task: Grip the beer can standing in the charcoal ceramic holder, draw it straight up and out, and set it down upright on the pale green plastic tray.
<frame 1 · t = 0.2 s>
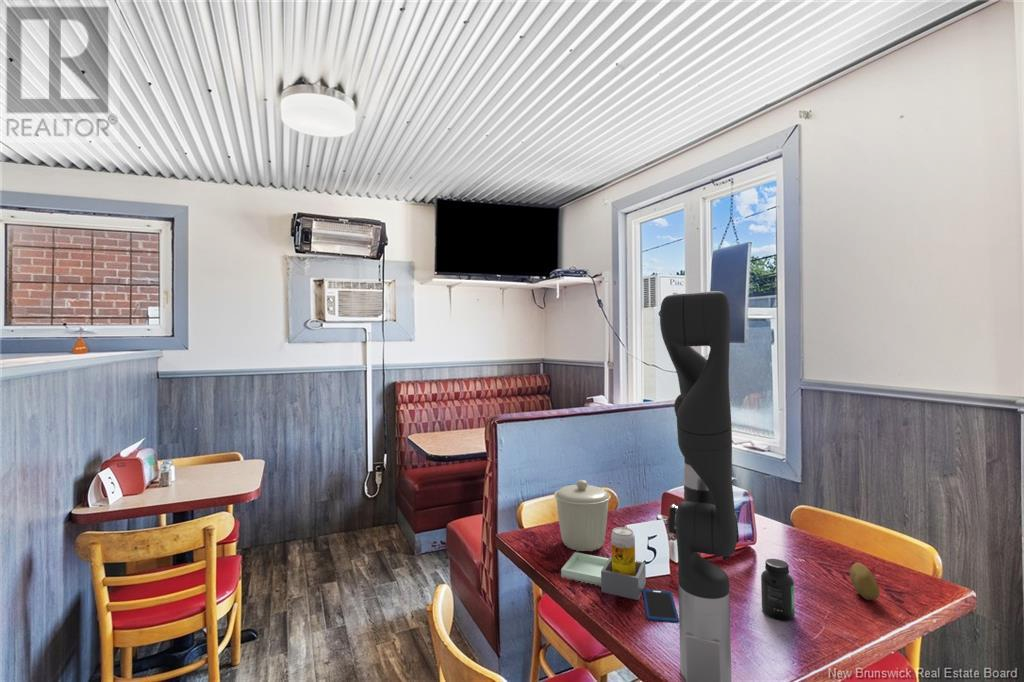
hand: (703, 555, 105), 18 cm above the table, tool pointing down, fingers open, 8 cm apart
holder: (624, 587, 126), on the table
tray: (588, 572, 134), on the table
supplement bottle: (778, 614, 112), on the table
beer can: (624, 588, 126), resting in holder
cell phone: (659, 607, 117), on the table
potato: (864, 598, 119), on the table
canister: (583, 546, 152), on the table
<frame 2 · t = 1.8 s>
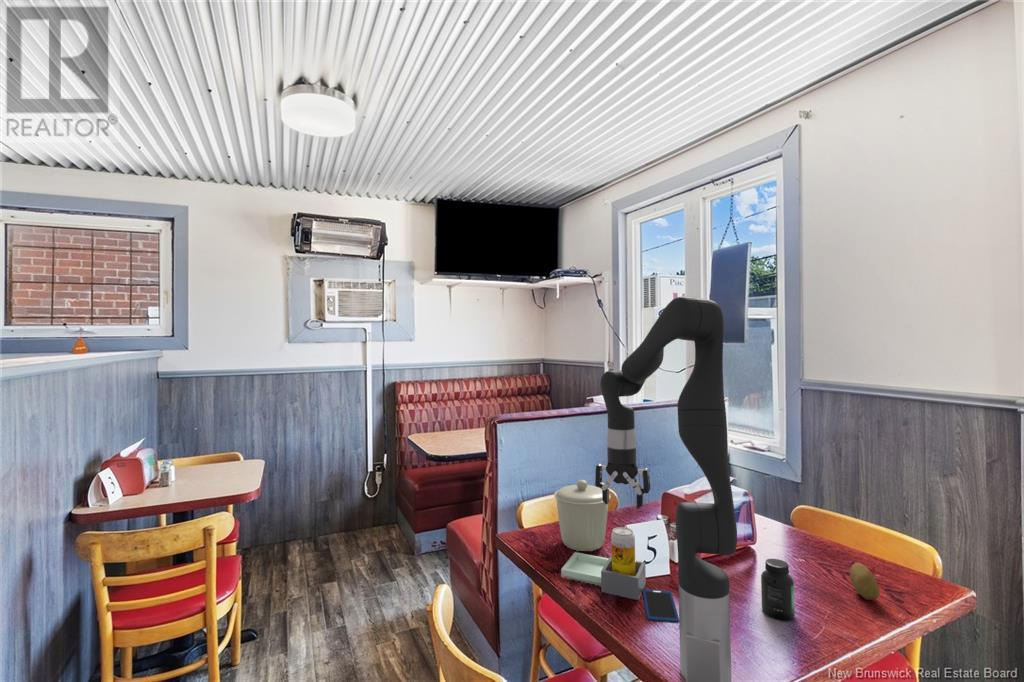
hand: (622, 505, 126), 22 cm above the table, tool pointing down, fingers open, 8 cm apart
nothing on the table moved.
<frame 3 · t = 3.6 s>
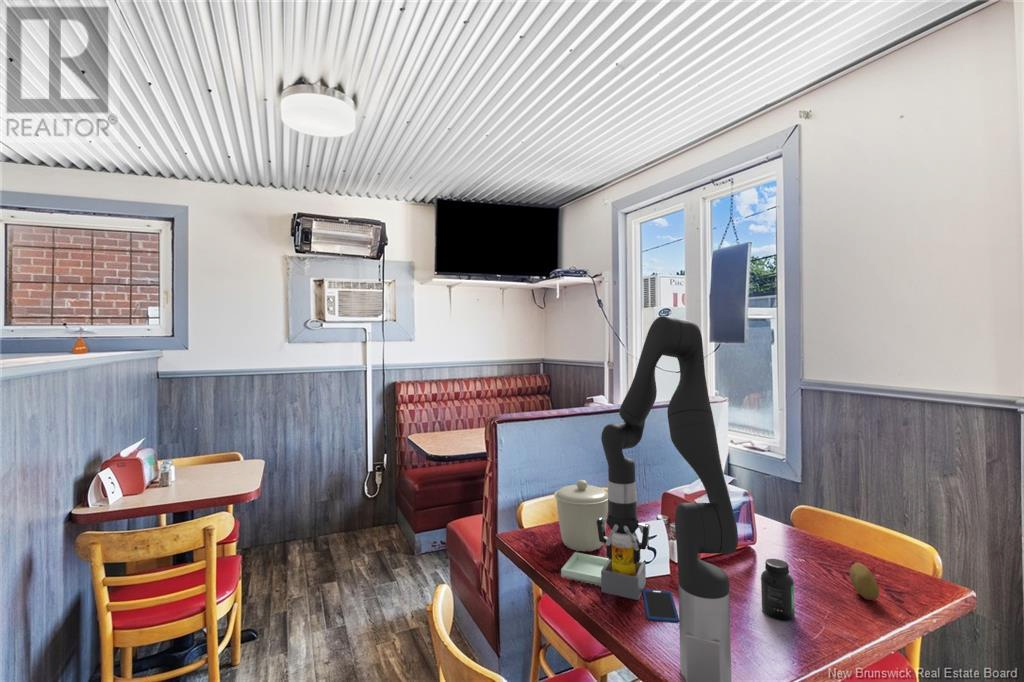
hand: (623, 560, 126), 7 cm above the table, tool pointing down, fingers closed on beer can, 6 cm apart
beer can: (623, 588, 125), resting in holder, touching gripper
everything else where it was.
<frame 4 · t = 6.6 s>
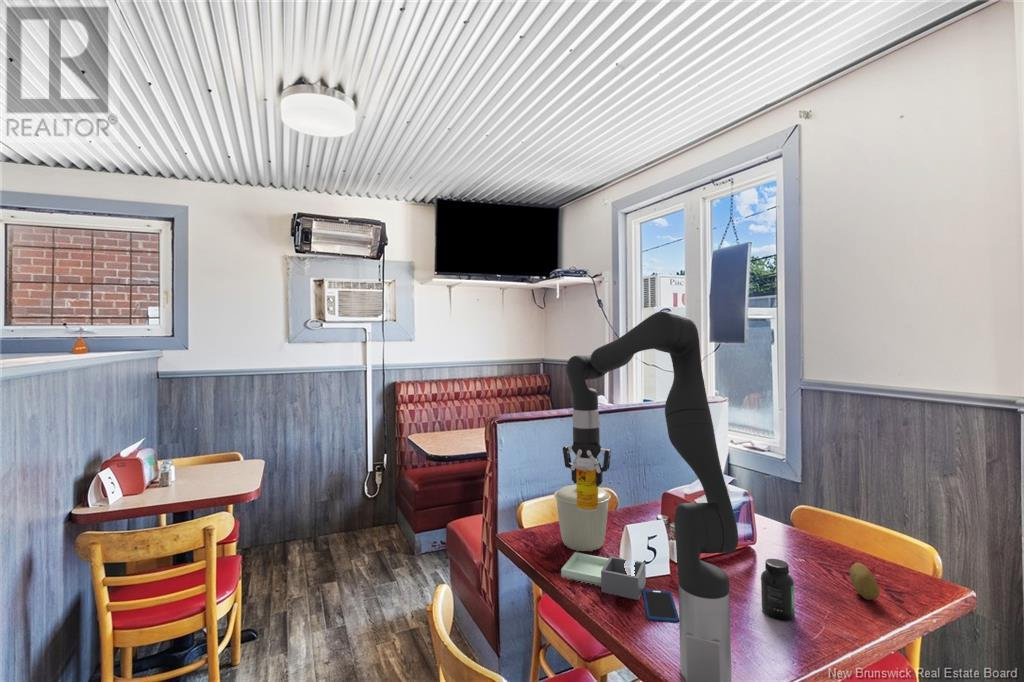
hand: (587, 483, 134), 25 cm above the table, tool pointing down, fingers closed on beer can, 6 cm apart
beer can: (587, 509, 134), point 18 cm above the table, touching gripper
everything else where it was.
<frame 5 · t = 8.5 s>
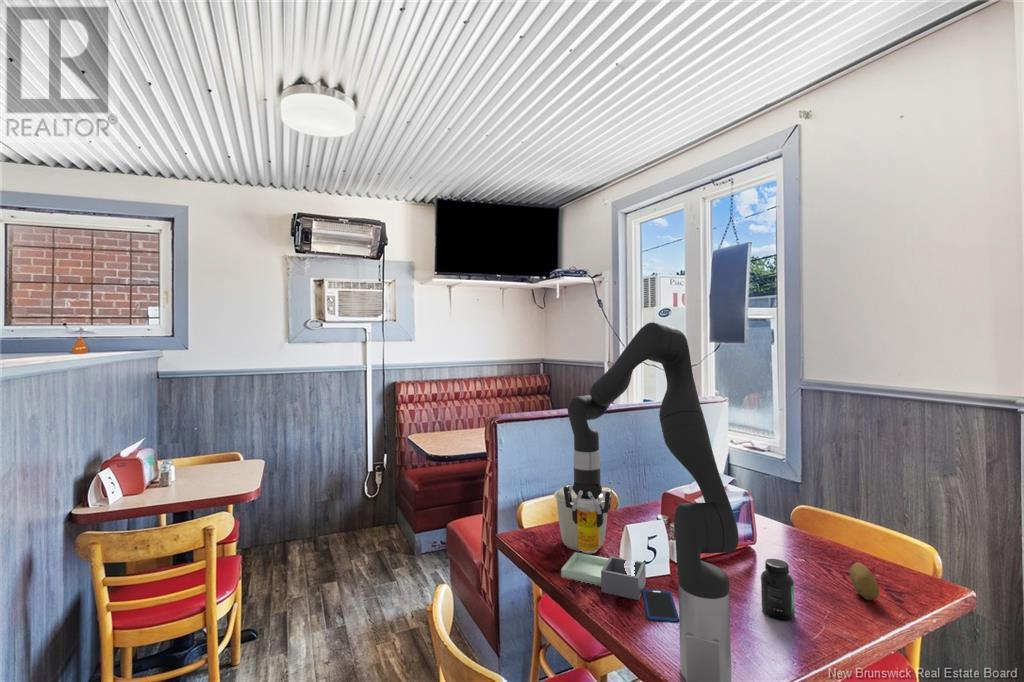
hand: (588, 524, 134), 14 cm above the table, tool pointing down, fingers closed on beer can, 6 cm apart
beer can: (588, 550, 134), point 6 cm above the table, touching gripper
everything else where it was.
when the fingers open (9 cm above the table, at t = 10.0 s): beer can drops 1 cm, resting on tray.
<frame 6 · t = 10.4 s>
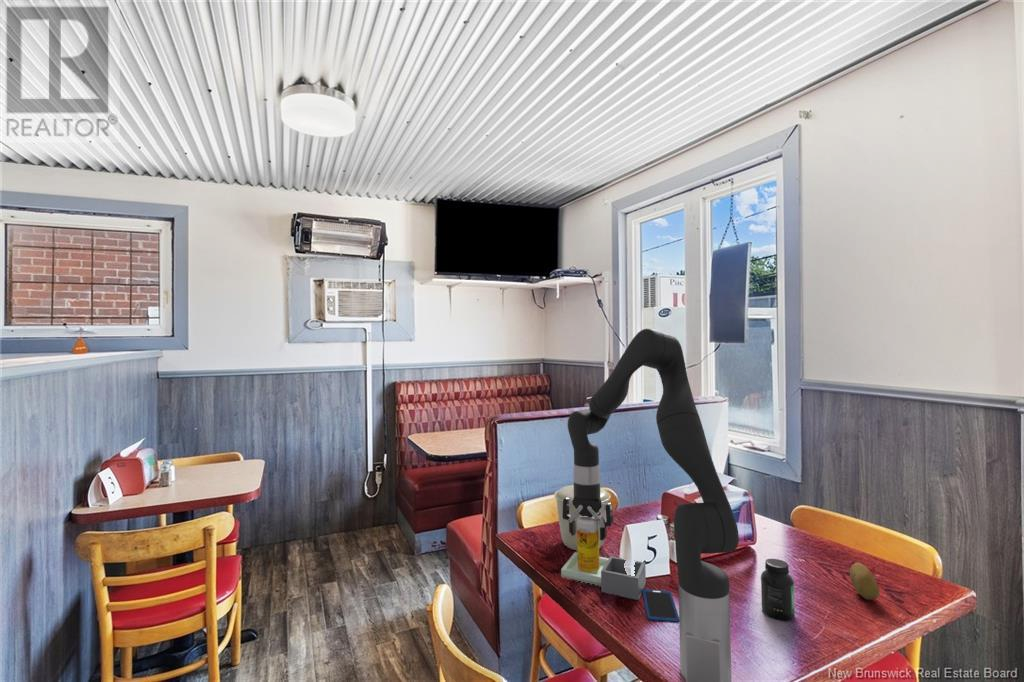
hand: (587, 537, 134), 10 cm above the table, tool pointing down, fingers open, 8 cm apart
beer can: (588, 570, 134), point 1 cm above the table, touching tray
everything else where it was.
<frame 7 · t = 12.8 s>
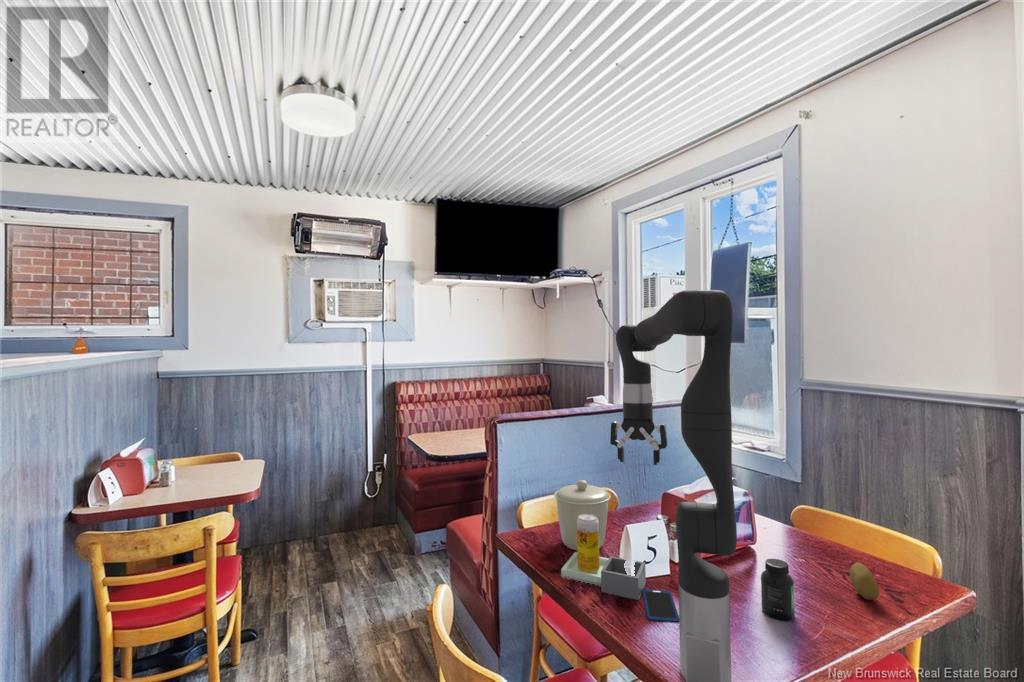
hand: (638, 463, 123), 34 cm above the table, tool pointing down, fingers open, 8 cm apart
nothing on the table moved.
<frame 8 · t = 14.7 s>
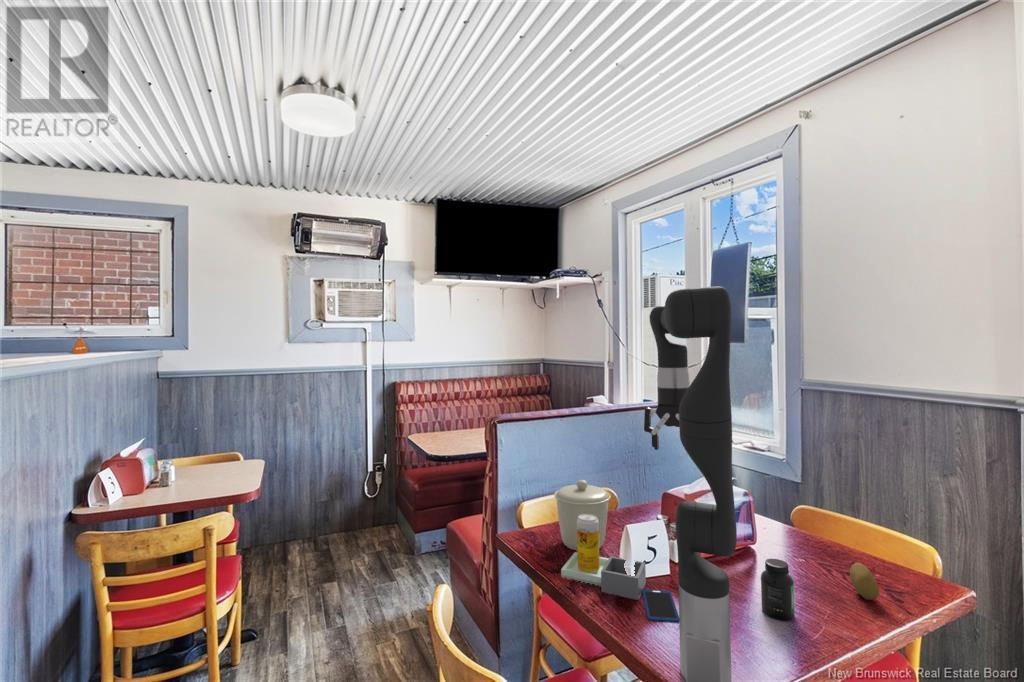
hand: (674, 450, 117), 38 cm above the table, tool pointing down, fingers open, 8 cm apart
nothing on the table moved.
at the end: beer can inside the target area on the tray (0.1 cm from its centre), point 0.6 cm above the tray's base; beer can tilted 0°; the gripper is holding nothing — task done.
